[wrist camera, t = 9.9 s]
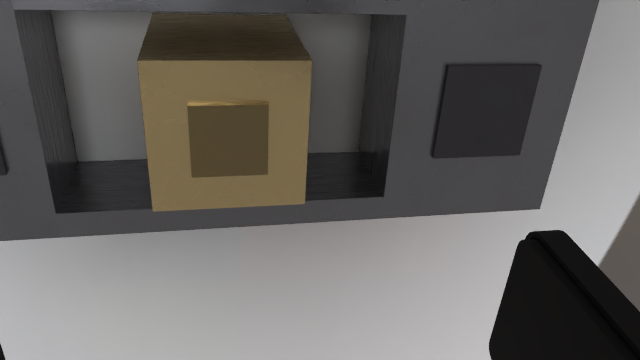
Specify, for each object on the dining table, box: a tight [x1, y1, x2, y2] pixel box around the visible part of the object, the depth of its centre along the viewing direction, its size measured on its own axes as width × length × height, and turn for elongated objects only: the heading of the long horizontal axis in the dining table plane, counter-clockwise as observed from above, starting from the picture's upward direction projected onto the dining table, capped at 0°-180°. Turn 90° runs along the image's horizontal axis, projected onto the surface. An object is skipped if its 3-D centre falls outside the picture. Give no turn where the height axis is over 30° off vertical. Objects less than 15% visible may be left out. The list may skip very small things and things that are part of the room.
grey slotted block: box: [0, 0, 599, 241], centre depth 21 cm, size 25×9×4 cm, turn 88°
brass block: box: [137, 13, 312, 212], centre depth 20 cm, size 5×5×6 cm
